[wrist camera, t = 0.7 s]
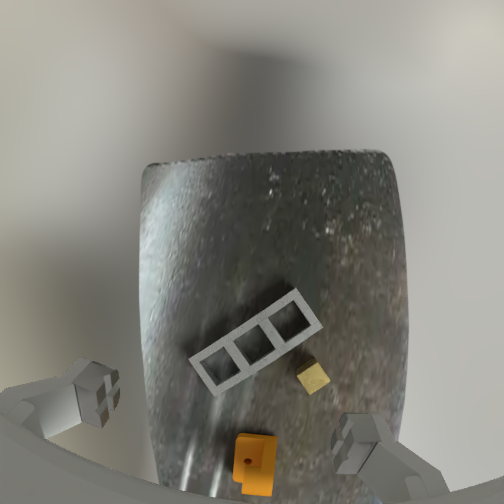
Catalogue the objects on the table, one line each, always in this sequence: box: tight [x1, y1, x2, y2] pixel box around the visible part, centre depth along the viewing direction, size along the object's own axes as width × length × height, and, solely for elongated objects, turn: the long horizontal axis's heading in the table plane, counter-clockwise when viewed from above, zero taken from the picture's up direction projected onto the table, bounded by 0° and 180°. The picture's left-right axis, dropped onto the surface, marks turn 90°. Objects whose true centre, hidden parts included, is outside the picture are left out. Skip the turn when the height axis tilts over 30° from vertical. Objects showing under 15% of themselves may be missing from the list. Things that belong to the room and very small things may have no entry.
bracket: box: [233, 433, 277, 496], centre depth 44 cm, size 11×7×12 cm, turn 175°
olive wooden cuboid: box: [296, 357, 330, 394], centre depth 49 cm, size 4×4×5 cm
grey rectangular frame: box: [189, 288, 323, 397], centre depth 52 cm, size 8×22×3 cm, turn 124°
